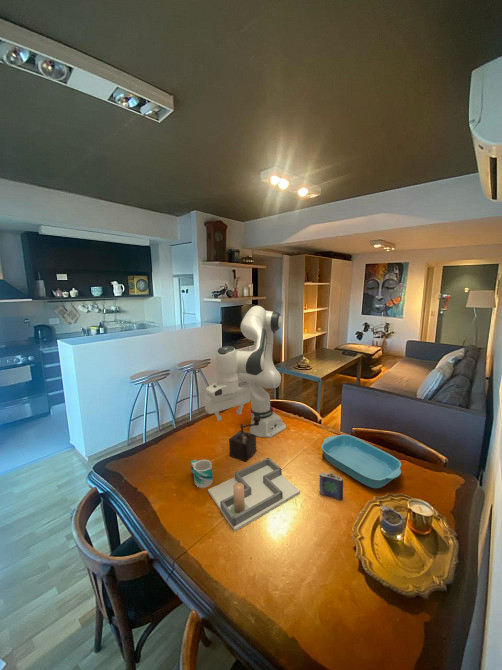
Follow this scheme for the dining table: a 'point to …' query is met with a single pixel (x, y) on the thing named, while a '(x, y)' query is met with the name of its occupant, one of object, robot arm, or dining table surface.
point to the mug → (202, 473)
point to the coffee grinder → (243, 443)
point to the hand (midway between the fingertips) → (229, 417)
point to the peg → (239, 497)
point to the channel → (254, 492)
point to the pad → (234, 510)
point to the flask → (331, 485)
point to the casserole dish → (361, 460)
